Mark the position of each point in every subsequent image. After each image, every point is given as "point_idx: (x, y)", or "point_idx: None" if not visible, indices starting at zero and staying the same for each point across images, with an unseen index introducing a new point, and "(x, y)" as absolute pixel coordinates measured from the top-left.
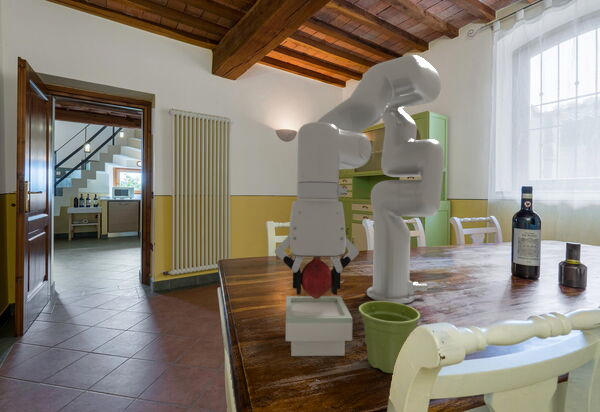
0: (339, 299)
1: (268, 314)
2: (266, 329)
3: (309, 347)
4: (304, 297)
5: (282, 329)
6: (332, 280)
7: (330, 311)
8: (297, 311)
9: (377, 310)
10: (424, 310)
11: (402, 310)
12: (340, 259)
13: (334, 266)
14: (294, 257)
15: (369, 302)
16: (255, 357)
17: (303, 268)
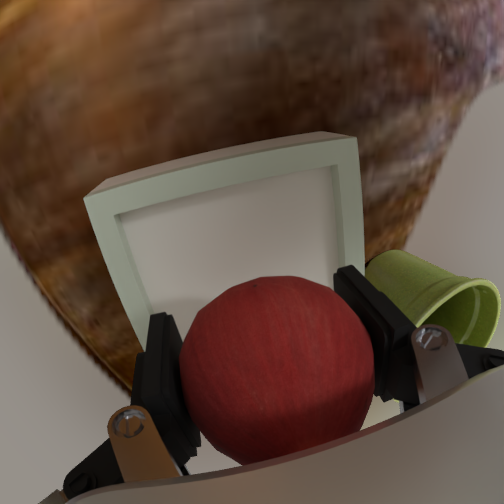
0: (349, 184)
1: (35, 65)
2: (61, 182)
3: None
4: (177, 191)
5: (107, 166)
6: None
7: (301, 276)
8: (175, 305)
9: (440, 285)
10: (500, 14)
11: (484, 291)
12: (469, 378)
13: (409, 382)
14: (123, 477)
15: (436, 308)
16: (103, 328)
17: (204, 435)
